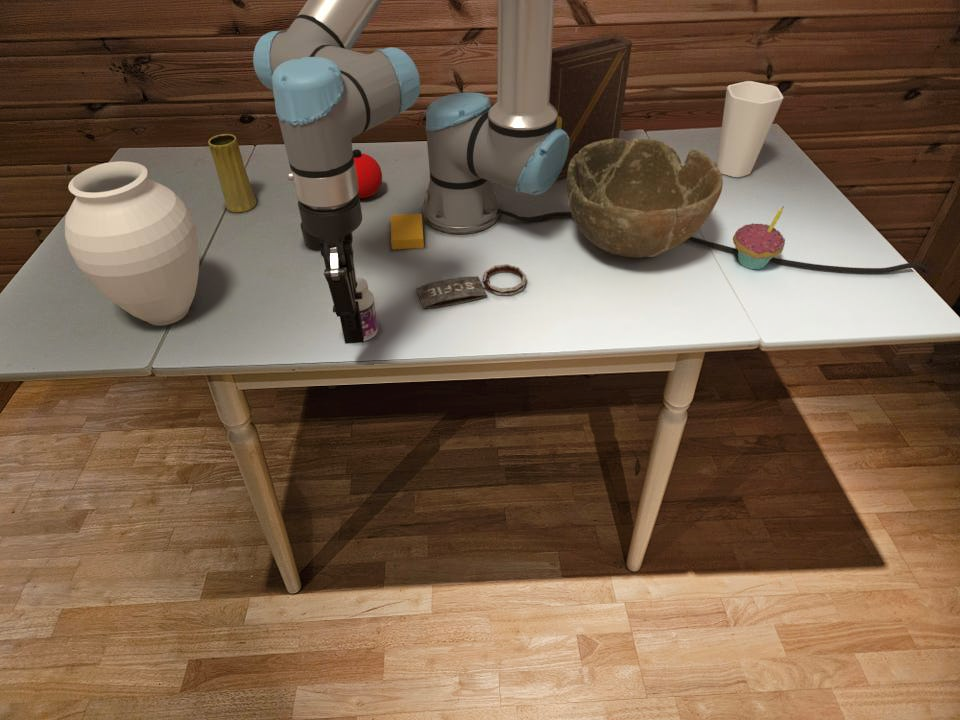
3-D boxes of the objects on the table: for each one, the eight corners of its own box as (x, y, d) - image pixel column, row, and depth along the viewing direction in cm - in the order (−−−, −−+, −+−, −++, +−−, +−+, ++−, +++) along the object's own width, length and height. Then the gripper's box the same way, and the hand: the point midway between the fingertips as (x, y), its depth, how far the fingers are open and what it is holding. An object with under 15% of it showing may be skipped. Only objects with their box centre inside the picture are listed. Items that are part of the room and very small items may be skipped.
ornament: (339, 188, 140) (331, 143, 133) (380, 182, 142) (374, 137, 135) (344, 209, 134) (336, 164, 127) (388, 202, 136) (382, 157, 129)
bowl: (601, 191, 138) (610, 122, 127) (725, 231, 126) (746, 158, 116) (531, 253, 122) (535, 180, 111) (666, 305, 110) (685, 229, 100)
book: (598, 146, 152) (612, 32, 135) (622, 161, 147) (639, 44, 130) (519, 171, 145) (523, 52, 127) (541, 187, 139) (547, 66, 122)
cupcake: (776, 253, 121) (798, 195, 112) (775, 280, 115) (798, 220, 107) (728, 245, 123) (745, 187, 114) (725, 271, 117) (743, 212, 109)
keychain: (415, 286, 115) (414, 277, 113) (518, 267, 119) (518, 258, 117) (424, 313, 109) (423, 304, 108) (532, 292, 113) (533, 283, 112)
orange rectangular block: (422, 222, 130) (421, 213, 129) (424, 247, 124) (423, 238, 122) (392, 224, 130) (390, 215, 128) (392, 249, 123) (391, 240, 122)
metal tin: (339, 231, 128) (335, 213, 125) (337, 249, 123) (333, 231, 121) (306, 233, 128) (302, 215, 125) (303, 251, 123) (298, 233, 120)
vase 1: (98, 353, 103) (19, 214, 86) (124, 285, 116) (60, 153, 99) (214, 340, 105) (160, 202, 88) (227, 275, 118) (182, 143, 101)
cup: (700, 172, 143) (719, 94, 131) (717, 154, 149) (736, 77, 137) (751, 186, 139) (775, 106, 127) (766, 167, 145) (790, 89, 133)
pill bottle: (346, 344, 104) (336, 297, 97) (344, 323, 108) (335, 276, 101) (380, 340, 105) (372, 292, 98) (377, 319, 109) (370, 271, 102)
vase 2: (260, 198, 137) (243, 133, 128) (250, 213, 133) (231, 147, 123) (232, 197, 138) (213, 132, 128) (221, 212, 134) (200, 146, 124)
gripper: (302, 172, 85) (331, 313, 101) (291, 226, 75) (325, 372, 92) (360, 169, 85) (380, 310, 102) (357, 222, 76) (379, 368, 92)
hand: (354, 339), depth 97 cm, fingers closed
